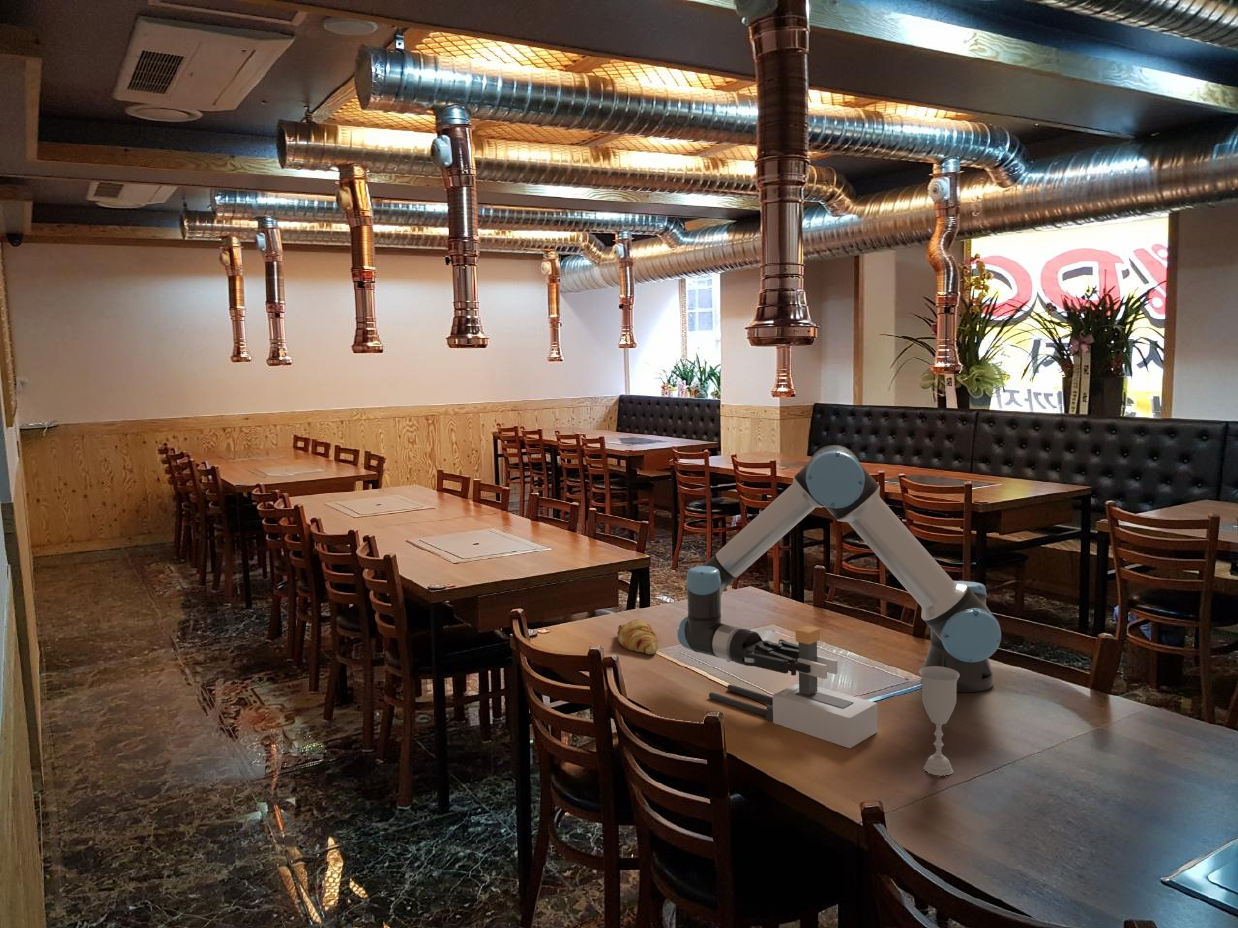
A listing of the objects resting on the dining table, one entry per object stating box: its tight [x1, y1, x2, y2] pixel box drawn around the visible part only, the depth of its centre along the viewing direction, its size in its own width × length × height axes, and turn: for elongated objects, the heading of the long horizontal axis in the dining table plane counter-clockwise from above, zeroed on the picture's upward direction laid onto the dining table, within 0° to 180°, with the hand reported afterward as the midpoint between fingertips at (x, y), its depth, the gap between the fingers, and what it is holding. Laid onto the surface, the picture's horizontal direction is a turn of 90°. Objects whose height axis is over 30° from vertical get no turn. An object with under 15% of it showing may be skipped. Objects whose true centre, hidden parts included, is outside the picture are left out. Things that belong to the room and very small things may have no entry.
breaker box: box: [772, 682, 878, 749], centre depth 177 cm, size 18×10×6 cm, turn 44°
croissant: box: [616, 619, 659, 655], centre depth 233 cm, size 21×10×8 cm, turn 25°
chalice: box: [918, 666, 960, 777], centre depth 156 cm, size 7×7×18 cm
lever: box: [795, 625, 821, 695], centre depth 178 cm, size 3×4×13 cm
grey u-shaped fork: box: [708, 684, 773, 722], centre depth 190 cm, size 19×9×3 cm, turn 44°
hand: (831, 669), depth 174 cm, fingers closed on lever, 3 cm apart
